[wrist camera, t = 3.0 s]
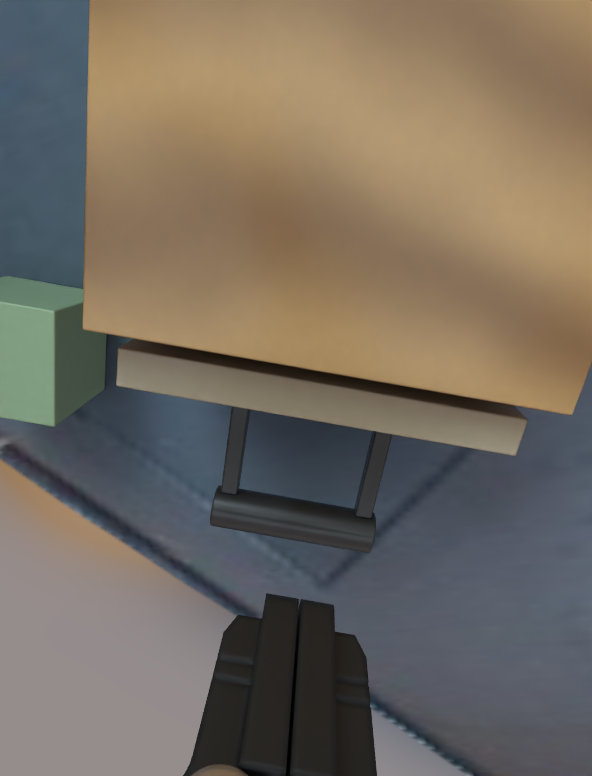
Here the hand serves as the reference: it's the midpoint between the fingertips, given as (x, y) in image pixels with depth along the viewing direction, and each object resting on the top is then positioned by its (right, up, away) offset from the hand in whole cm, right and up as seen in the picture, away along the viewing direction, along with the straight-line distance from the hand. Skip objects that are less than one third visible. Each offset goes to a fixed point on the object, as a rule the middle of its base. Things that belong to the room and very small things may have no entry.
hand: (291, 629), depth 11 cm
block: (-11, +8, +12) cm, 18 cm away
